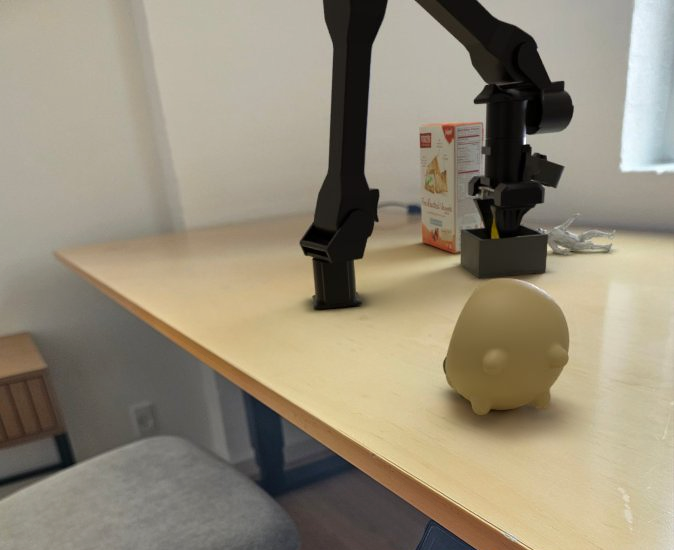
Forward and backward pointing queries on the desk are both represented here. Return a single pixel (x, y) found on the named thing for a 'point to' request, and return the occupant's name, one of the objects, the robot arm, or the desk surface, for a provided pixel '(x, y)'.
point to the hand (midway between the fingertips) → (501, 248)
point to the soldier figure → (574, 238)
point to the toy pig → (507, 346)
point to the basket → (504, 252)
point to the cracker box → (449, 181)
